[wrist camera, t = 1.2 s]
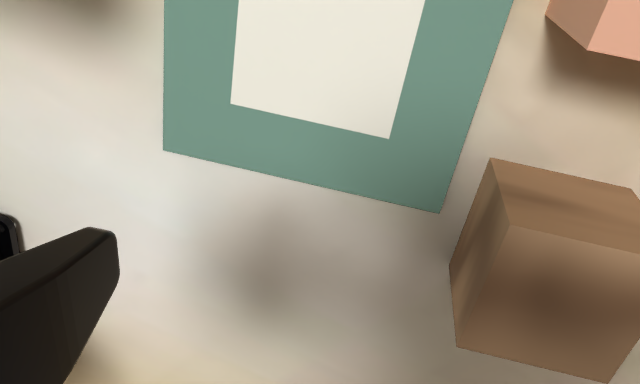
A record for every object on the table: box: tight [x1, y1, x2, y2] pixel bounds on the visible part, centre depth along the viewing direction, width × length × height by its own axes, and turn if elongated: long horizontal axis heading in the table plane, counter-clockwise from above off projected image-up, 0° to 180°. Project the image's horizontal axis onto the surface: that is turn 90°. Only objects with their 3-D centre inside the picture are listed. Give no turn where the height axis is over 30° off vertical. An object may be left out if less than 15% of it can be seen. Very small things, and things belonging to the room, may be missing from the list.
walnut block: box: [449, 158, 640, 384], centre depth 19 cm, size 6×6×5 cm
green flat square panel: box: [163, 0, 513, 214], centre depth 18 cm, size 12×12×1 cm
